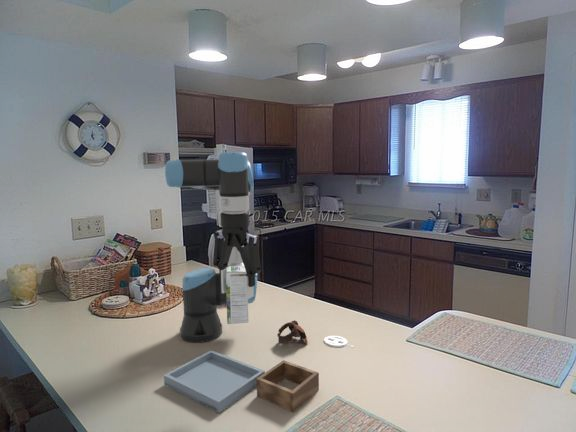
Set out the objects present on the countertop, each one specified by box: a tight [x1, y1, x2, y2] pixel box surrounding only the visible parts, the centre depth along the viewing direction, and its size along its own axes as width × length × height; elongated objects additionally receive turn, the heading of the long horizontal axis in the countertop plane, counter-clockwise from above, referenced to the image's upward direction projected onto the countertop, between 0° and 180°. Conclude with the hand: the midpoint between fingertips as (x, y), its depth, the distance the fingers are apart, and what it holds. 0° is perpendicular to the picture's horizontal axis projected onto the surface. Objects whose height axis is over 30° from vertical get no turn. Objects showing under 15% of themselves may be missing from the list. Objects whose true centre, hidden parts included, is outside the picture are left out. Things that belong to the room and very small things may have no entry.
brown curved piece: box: [276, 320, 309, 346], centre depth 139 cm, size 12×10×8 cm
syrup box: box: [226, 266, 249, 325], centre depth 109 cm, size 6×6×14 cm
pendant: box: [323, 335, 355, 348], centre depth 138 cm, size 7×11×1 cm, turn 56°
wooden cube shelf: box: [256, 359, 320, 413], centre depth 109 cm, size 12×12×5 cm
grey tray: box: [163, 349, 266, 414], centre depth 114 cm, size 22×18×3 cm
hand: (237, 294), depth 109 cm, fingers closed on syrup box, 8 cm apart
